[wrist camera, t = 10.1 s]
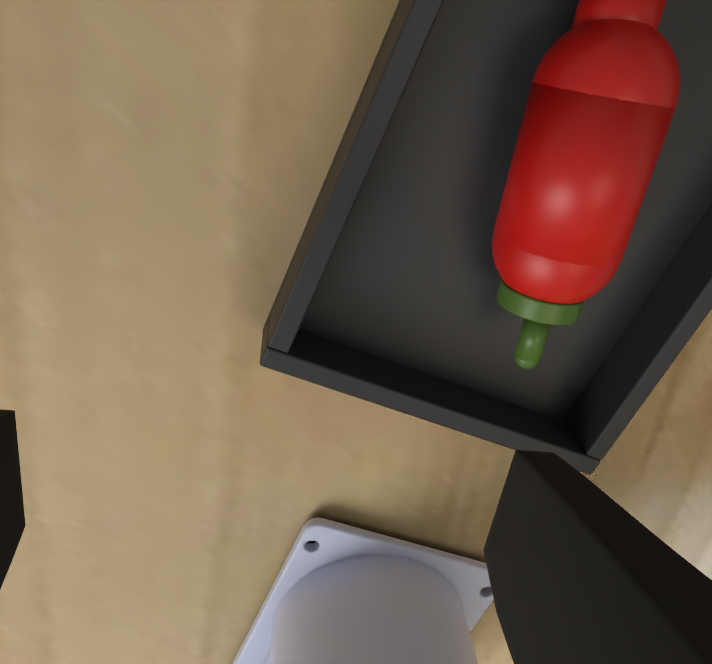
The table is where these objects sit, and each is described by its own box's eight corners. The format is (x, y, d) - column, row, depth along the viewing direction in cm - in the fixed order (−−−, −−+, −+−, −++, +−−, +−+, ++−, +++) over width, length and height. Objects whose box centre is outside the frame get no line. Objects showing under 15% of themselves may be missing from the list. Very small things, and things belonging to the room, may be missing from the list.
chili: (552, 341, 19) (599, 397, 16) (451, 330, 19) (480, 387, 16) (675, -37, 15) (768, -52, 12) (548, -64, 14) (612, -84, 11)
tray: (563, 433, 21) (591, 476, 19) (262, 329, 18) (258, 365, 17) (890, -45, 15) (975, -54, 14) (522, -296, 13) (563, -353, 11)
